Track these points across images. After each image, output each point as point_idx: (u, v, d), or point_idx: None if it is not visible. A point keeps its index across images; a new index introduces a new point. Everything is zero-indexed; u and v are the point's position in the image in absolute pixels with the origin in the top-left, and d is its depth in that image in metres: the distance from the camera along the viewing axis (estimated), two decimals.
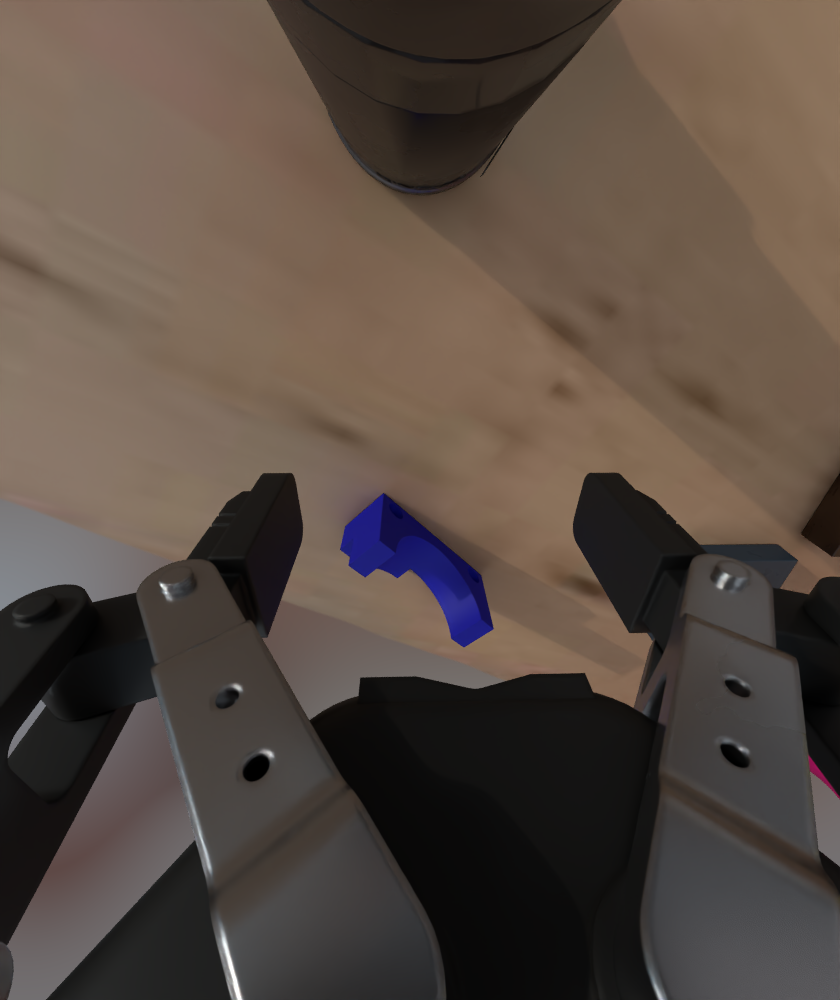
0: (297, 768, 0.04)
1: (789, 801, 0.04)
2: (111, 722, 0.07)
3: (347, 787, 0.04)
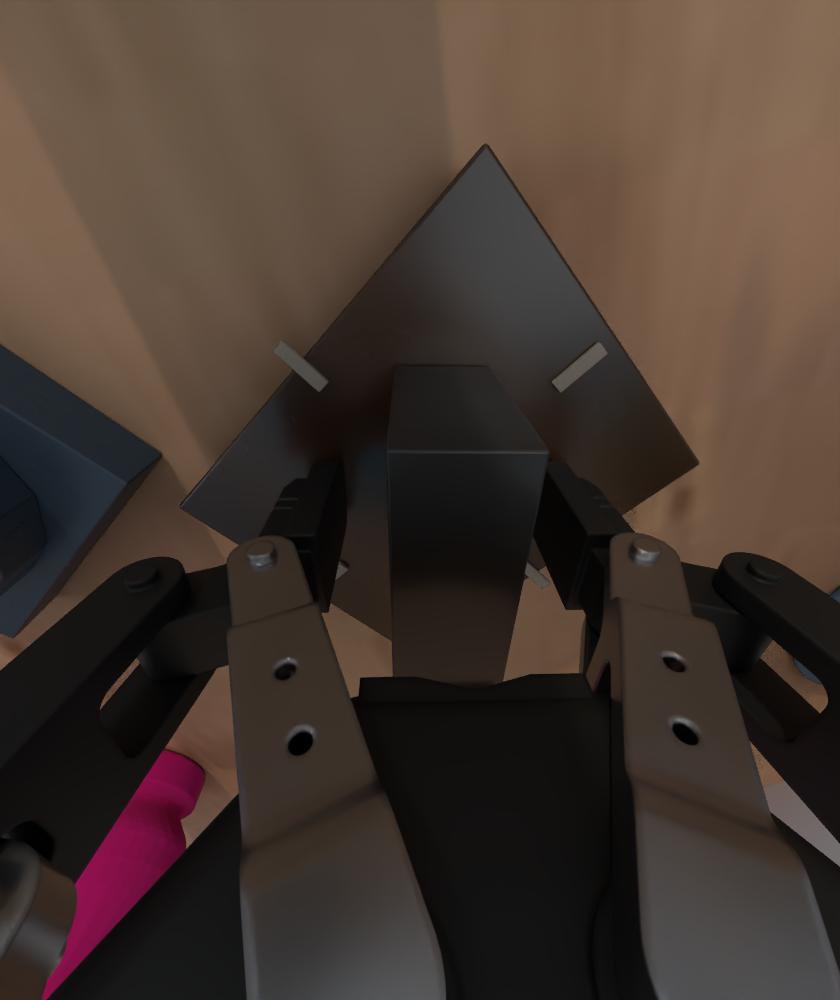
0: (336, 753, 0.04)
1: (737, 769, 0.04)
2: (189, 690, 0.07)
3: (379, 785, 0.04)
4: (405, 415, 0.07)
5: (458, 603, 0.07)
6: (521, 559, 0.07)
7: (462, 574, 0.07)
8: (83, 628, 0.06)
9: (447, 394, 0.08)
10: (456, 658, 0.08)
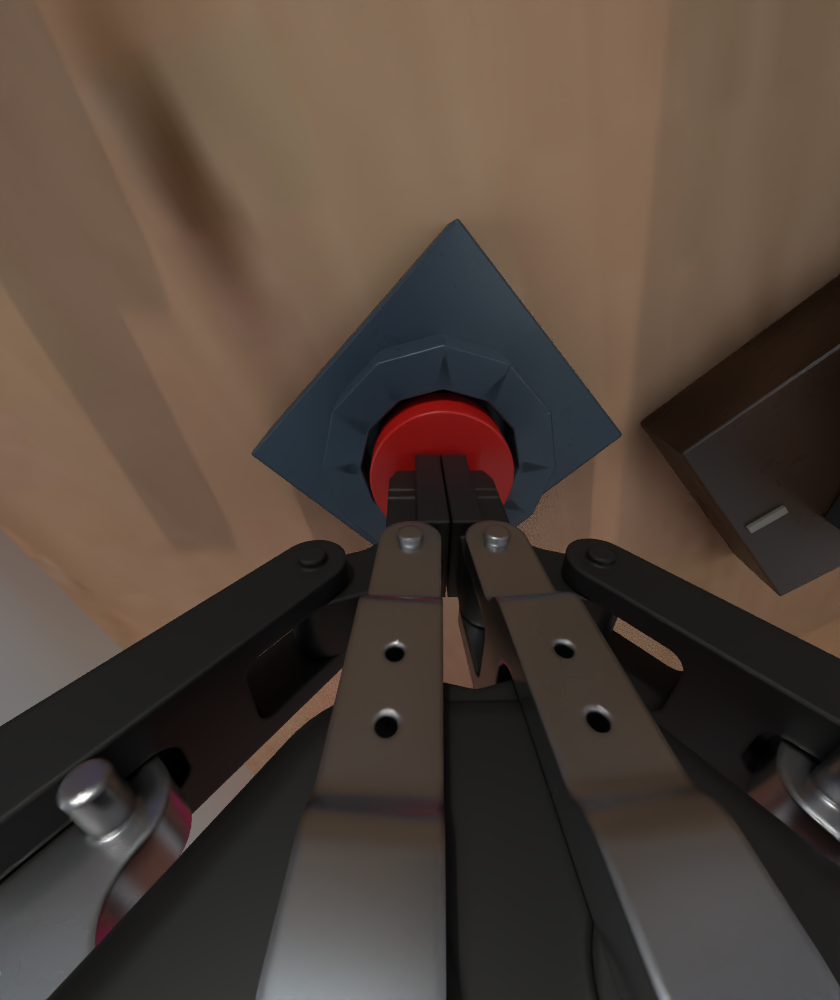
0: (413, 753, 0.04)
1: (645, 736, 0.04)
2: (323, 672, 0.08)
3: (441, 807, 0.03)
4: None
5: None
6: None
7: None
8: (257, 591, 0.07)
9: None
10: None
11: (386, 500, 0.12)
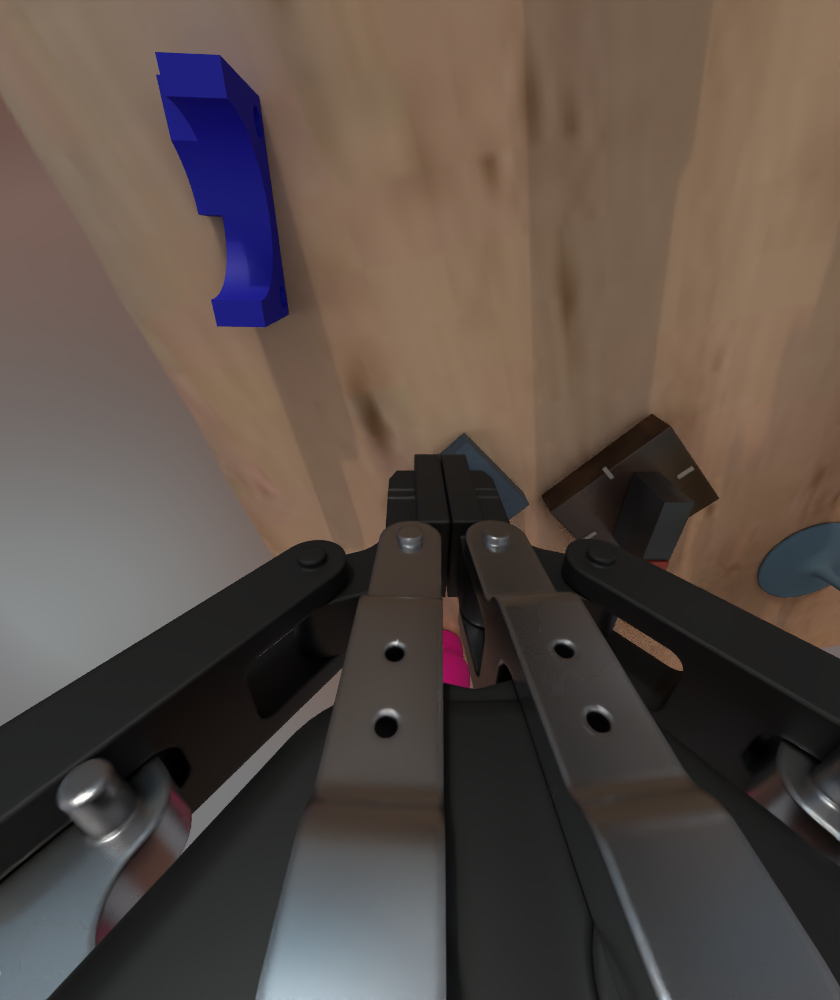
0: (413, 753, 0.04)
1: (646, 736, 0.04)
2: (323, 672, 0.08)
3: (441, 807, 0.03)
4: (658, 493, 0.32)
5: (667, 534, 0.33)
6: (683, 524, 0.32)
7: (670, 527, 0.32)
8: (257, 591, 0.07)
9: (660, 485, 0.33)
10: (661, 550, 0.33)
11: None
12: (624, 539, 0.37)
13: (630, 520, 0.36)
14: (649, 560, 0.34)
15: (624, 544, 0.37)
